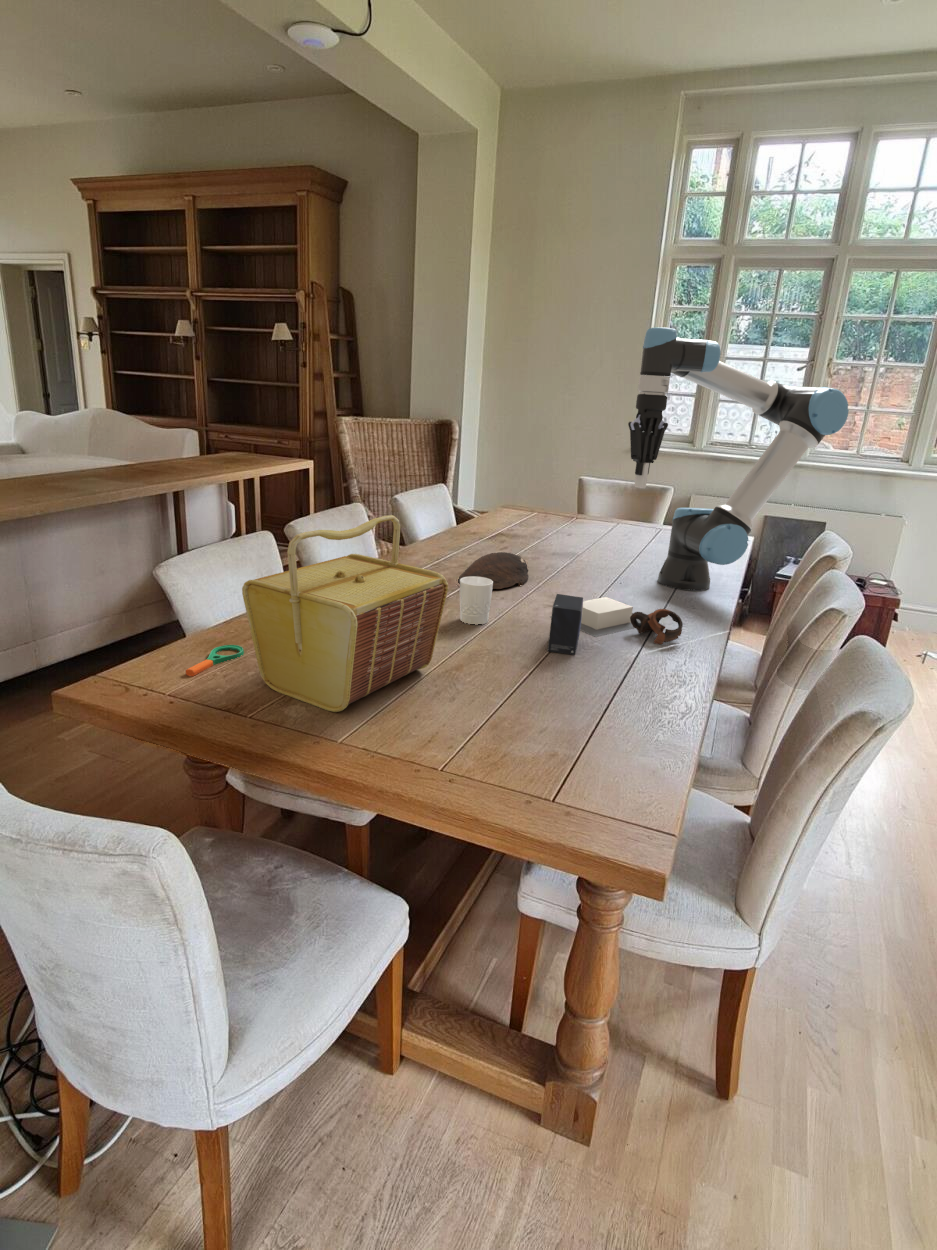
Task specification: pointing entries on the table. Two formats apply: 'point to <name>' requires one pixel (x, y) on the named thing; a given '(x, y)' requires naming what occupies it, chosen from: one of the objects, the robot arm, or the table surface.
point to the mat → (606, 629)
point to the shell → (499, 569)
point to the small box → (565, 624)
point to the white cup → (475, 599)
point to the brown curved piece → (657, 624)
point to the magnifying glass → (214, 659)
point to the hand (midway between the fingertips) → (639, 487)
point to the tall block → (605, 613)
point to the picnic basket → (343, 622)
